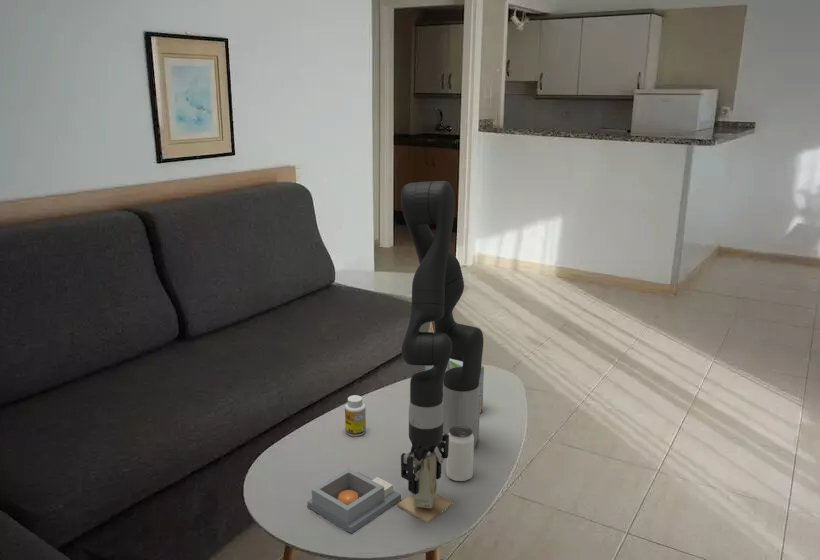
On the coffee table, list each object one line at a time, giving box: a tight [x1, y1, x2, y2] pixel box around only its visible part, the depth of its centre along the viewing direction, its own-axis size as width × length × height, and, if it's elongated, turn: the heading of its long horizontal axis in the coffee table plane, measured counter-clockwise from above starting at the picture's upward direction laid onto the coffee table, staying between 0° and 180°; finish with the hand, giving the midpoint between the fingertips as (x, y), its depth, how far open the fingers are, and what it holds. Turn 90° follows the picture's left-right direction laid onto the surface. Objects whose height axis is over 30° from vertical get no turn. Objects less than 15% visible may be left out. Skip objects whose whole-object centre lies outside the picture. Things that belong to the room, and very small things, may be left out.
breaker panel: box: [307, 467, 402, 534], centre depth 151 cm, size 16×14×5 cm
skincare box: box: [413, 452, 437, 508], centre depth 149 cm, size 6×4×12 cm
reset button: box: [337, 490, 359, 505], centre depth 150 cm, size 4×4×3 cm
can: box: [446, 426, 475, 482], centre depth 161 cm, size 6×6×12 cm
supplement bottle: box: [344, 394, 367, 437], centre depth 181 cm, size 6×6×10 cm
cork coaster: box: [396, 493, 454, 524], centre depth 151 cm, size 9×9×1 cm
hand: (425, 484), depth 150 cm, fingers closed on skincare box, 7 cm apart
